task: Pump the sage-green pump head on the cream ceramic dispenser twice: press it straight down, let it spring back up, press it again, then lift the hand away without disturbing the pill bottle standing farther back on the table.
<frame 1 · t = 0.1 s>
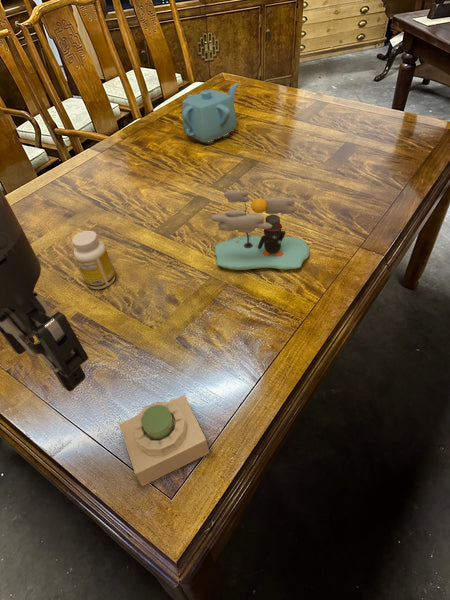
hand: (50, 364, 44), 22 cm above the table, tool pointing down, fingers open, 8 cm apart
penguin figurine: (261, 258, 88), on the table
teapot: (215, 134, 134), on the table
pump head: (157, 422, 55), point 7 cm above the table, slide at 0.1 cm
pill bottle: (101, 280, 88), on the table
dispenser: (166, 445, 60), on the table
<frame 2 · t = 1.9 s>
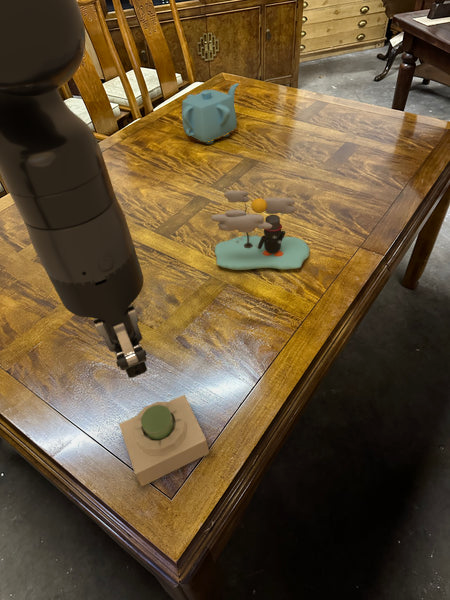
hand: (136, 370, 47), 18 cm above the table, tool pointing down, fingers closed
nothing on the table moved.
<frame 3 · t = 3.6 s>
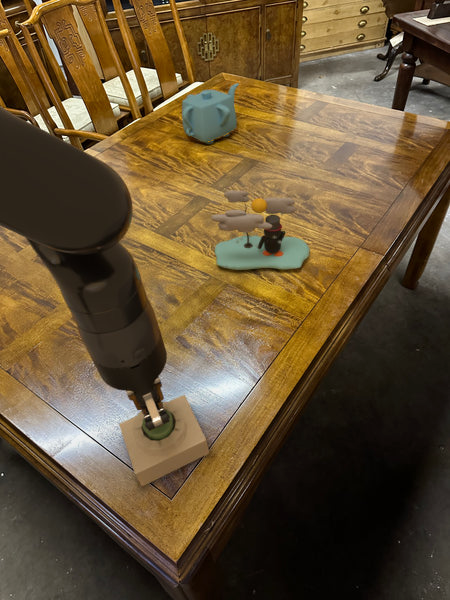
hand: (157, 420, 55), 7 cm above the table, tool pointing down, fingers closed
pump head: (158, 424, 56), point 6 cm above the table, slide at -0.6 cm, touching gripper
everything else where it was.
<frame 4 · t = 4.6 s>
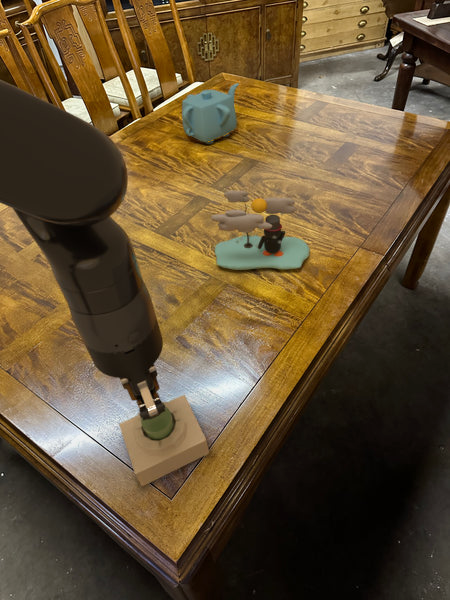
hand: (152, 412, 53), 9 cm above the table, tool pointing down, fingers closed
pump head: (157, 422, 55), point 7 cm above the table, slide at 0.1 cm
everything else where it was.
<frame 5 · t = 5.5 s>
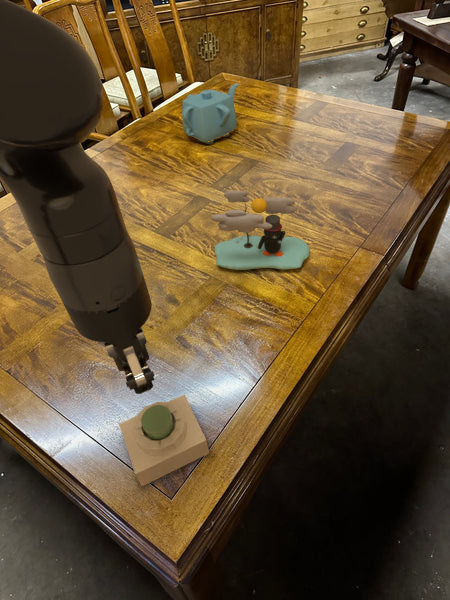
hand: (143, 386, 50), 15 cm above the table, tool pointing down, fingers closed
nothing on the table moved.
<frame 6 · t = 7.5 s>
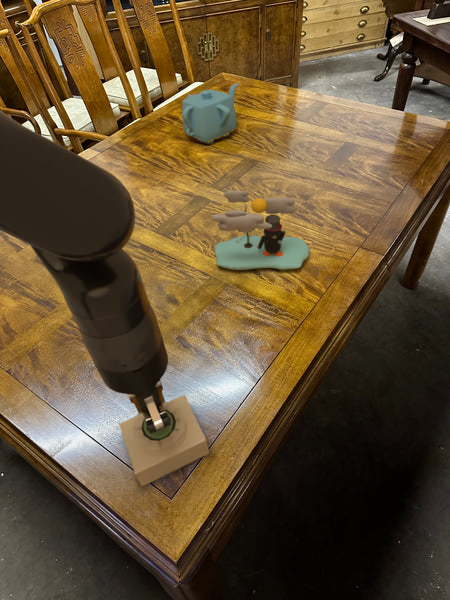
hand: (158, 422, 56), 6 cm above the table, tool pointing down, fingers closed
pump head: (159, 427, 56), point 5 cm above the table, slide at -1.3 cm, touching gripper
everything else where it was.
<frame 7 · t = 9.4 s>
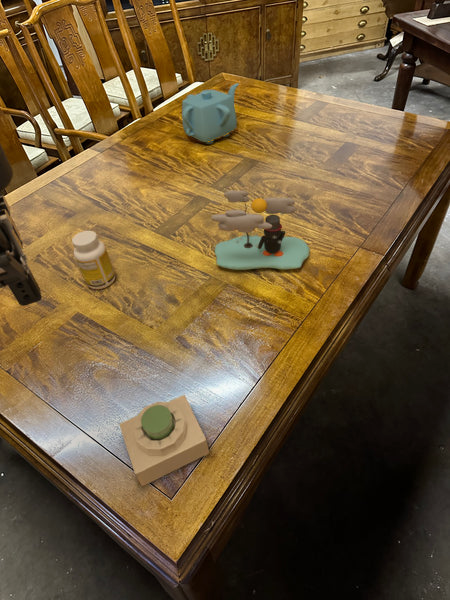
hand: (31, 299, 43), 28 cm above the table, tool pointing down, fingers closed
pump head: (157, 422, 55), point 7 cm above the table, slide at 0.1 cm
everything else where it was.
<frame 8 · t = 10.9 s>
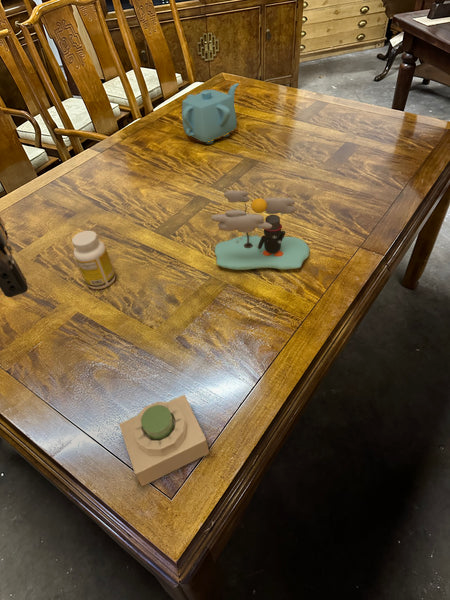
hand: (17, 290, 42), 29 cm above the table, tool pointing down, fingers closed
nothing on the table moved.
at the end: pump head pushed in 1.3 cm at the most during the clip, back to where it started at the end; pump head slide at 0.1 cm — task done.
